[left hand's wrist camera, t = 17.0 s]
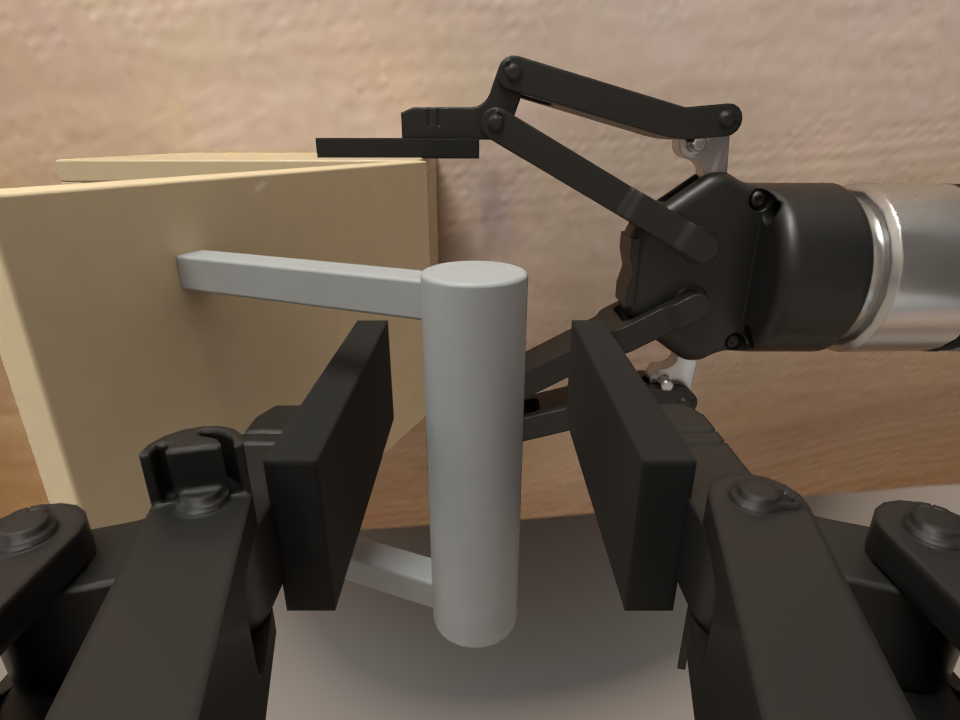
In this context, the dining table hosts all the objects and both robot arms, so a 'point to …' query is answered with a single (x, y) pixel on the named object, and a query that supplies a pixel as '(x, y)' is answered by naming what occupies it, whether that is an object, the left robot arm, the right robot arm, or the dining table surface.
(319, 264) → the lid
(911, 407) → the dining table surface
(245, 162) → the chest
